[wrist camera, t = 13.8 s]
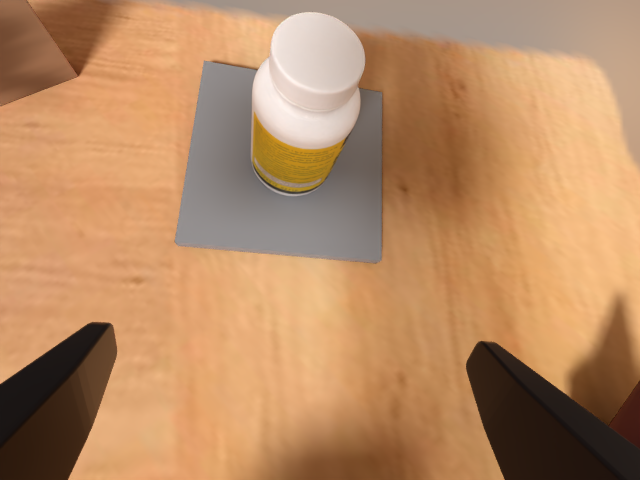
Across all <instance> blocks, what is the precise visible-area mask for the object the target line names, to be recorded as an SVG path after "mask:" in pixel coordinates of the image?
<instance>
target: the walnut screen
mask: <svg viewBox="0 0 640 480" xmlns="http://www.w3.org/2000/svg"><path fill="white" fill-rule="evenodd" d="M75 77H78V76H77V74H76V73H75V71H74V69H73V68H72V66H71V65H70V63H69V62H68V60H67V59H66V57H65V56H64V54H63V53H62V51H61V50H60V48H59V47H58V45H57V44H56V42H55V41H54V40H53V38H52V37H51V35H50V34H49V32H48V31H47V29H46V28H45V26H44V25H43V23H42V22H41V21H40V19H39V18H38V16H37V15H36V13H35V12H34V10H33V9H32V7H31V6H30V4H29V3H28V1H27V0H0V106H1V105H4V104H7V103H9V102H12V101H15V100H17V99H20V98H22V97H25V96H28V95H30V94H33V93H36V92H38V91H41V90H44V89H46V88H49V87H51V86H54V85H57V84H59V83H62V82H65V81H67V80H70V79H73V78H75Z"/></svg>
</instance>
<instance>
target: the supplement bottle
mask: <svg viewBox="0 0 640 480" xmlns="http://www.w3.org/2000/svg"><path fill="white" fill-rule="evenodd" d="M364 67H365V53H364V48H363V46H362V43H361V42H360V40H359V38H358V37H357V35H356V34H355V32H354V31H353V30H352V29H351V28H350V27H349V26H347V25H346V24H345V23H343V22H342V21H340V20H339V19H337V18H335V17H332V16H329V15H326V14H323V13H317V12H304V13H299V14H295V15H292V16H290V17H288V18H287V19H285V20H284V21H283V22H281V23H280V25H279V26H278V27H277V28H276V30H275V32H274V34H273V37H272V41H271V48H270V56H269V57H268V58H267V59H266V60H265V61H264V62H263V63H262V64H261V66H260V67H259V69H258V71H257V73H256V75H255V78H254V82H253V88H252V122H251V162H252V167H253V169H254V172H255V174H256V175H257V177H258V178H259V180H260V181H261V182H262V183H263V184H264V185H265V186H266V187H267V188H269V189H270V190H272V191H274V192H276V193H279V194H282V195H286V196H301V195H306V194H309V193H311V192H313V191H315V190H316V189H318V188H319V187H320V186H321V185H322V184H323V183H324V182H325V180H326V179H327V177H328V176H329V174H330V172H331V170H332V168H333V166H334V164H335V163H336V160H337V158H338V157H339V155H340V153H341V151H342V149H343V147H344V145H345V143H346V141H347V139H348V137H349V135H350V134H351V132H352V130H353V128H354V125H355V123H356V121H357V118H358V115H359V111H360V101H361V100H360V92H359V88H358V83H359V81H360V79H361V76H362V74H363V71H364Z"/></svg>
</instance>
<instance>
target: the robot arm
mask: <svg viewBox="0 0 640 480" xmlns="http://www.w3.org/2000/svg"><path fill="white" fill-rule="evenodd" d="M116 356H117V345H116V339H115V333H114V328H113V325H112V324H111V323H105V322H91V323H89V324H87V325H86V326H84V327H83V328H81V329H80V330H78V331H77V332H75V333H74V334H72V335H71V336H70V337H68V338H67V339H65V340H64V341H62V342H61V343H59V344H58V345H56V346H55V347H54V348H52V349H51V350H49V351H48V352H46V353H45V354H43V355H42V356H40V357H39V358H38V359H36V360H35V361H33V362H32V363H30V364H29V365H27V366H26V367H24V368H23V369H22V370H20V371H19V372H17V373H16V374H14V375H13V376H11V377H10V378H8V379H7V380H6V381H4V382H3V383H1V384H0V480H68V479H69V476H70V474H71V472H72V470H73V468H74V466H75V464H76V461H77V459H78V457H79V455H80V453H81V451H82V449H83V446H84V444H85V442H86V440H87V438H88V435H89V433H90V431H91V429H92V426H93V423H94V421H95V418H96V415H97V412H98V409H99V407H100V404H101V401H102V398H103V395H104V392H105V389H106V386H107V383H108V380H109V377H110V374H111V371H112V368H113V366H114V363H115V360H116ZM466 370H467V374H468V377H469V381H470V384H471V387H472V391H473V394H474V397H475V401H476V404H477V407H478V411H479V414H480V417H481V420H482V423H483V426H484V429H485V432H486V434H487V437H488V440H489V442H490V445H491V447H492V450H493V452H494V454H495V457H496V459H497V462H498V464H499V467H500V469H501V472H502V474H503V477H504V479H505V480H640V449H639V448H638V447H636V446H635V445H634V444H632V443H631V442H630V441H628V440H627V439H626V438H624V437H623V436H621V435H620V434H619V433H617V432H616V431H615V430H613V429H612V428H611V427H609V426H608V425H607V424H605V423H604V422H602V421H601V420H600V419H598V418H597V417H596V416H594V415H593V414H592V413H590V412H589V411H588V410H586V409H585V408H584V407H582V406H581V405H579V404H578V403H577V402H575V401H574V400H573V399H571V398H570V397H569V396H567V395H566V394H565V393H563V392H562V391H561V390H559V389H558V388H556V387H555V386H554V385H552V384H551V383H550V382H548V381H547V380H546V379H544V378H543V377H542V376H540V375H539V374H538V373H536V372H535V371H533V370H532V369H531V368H529V367H528V366H527V365H525V364H524V363H523V362H521V361H520V360H519V359H517V358H516V357H514V356H513V355H512V354H510V353H509V352H508V351H506V350H505V349H504V348H502V347H501V346H500V345H498V344H497V343H495V342H489V341H480V342H478V343H477V344H476V346H475V347H474V349H473V351H472V353H471V355H470V356H469V358H468V360H467V363H466Z"/></svg>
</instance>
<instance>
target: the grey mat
mask: <svg viewBox="0 0 640 480" xmlns="http://www.w3.org/2000/svg"><path fill="white" fill-rule="evenodd" d="M257 71H258V70H254V69H248V68H242V67H237V66H231V65H225V64H220V63H214V62H209V61H204V64H203V71H202V77H201V83H200V89H199V95H198V101H197V108H196V114H195V120H194V126H193V132H192V139H191V145H190V151H189V157H188V163H187V169H186V176H185V182H184V188H183V194H182V200H181V207H180V213H179V219H178V225H177V231H176V237H175V243H176V244H177V245H178V246H185V247H197V248H208V249H219V250H231V251H242V252H253V253H265V254H276V255H287V256H299V257H310V258H321V259H333V260H344V261H355V262H367V263H378V262H380V261H381V259H382V92H378V91H372V90H366V89H361V88H359V92H360V100H361V101H360V111H359V115H358V118H357V121H356V123H355V125H354V128H353V130H352V132H351V134H350V135H349V137H348V139H347V141H346V143H345V145H344V147H343V149H342V151H341V153H340V155H339V157H338V158H337V160H336V163H335V164H334V166H333V168H332V170H331V172H330V174H329V176H328V177H327V179H326V180H325V182H324V183H323V184H322V185H321V186H320V187H319V188H318V189H316V190H315V191H313V192H311V193H309V194H306V195H301V196H286V195H282V194H279V193H276V192H274V191H272V190H270V189H269V188H267V187H266V186H265V185H264V184H263V183H262V182H261V181H260V180H259V178H258V177H257V175H256V174H255V172H254V169H253V167H252V162H251V122H252V88H253V82H254V78H255V75H256V73H257Z"/></svg>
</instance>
